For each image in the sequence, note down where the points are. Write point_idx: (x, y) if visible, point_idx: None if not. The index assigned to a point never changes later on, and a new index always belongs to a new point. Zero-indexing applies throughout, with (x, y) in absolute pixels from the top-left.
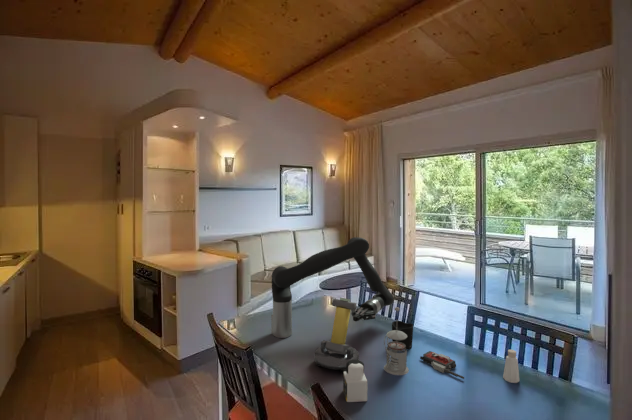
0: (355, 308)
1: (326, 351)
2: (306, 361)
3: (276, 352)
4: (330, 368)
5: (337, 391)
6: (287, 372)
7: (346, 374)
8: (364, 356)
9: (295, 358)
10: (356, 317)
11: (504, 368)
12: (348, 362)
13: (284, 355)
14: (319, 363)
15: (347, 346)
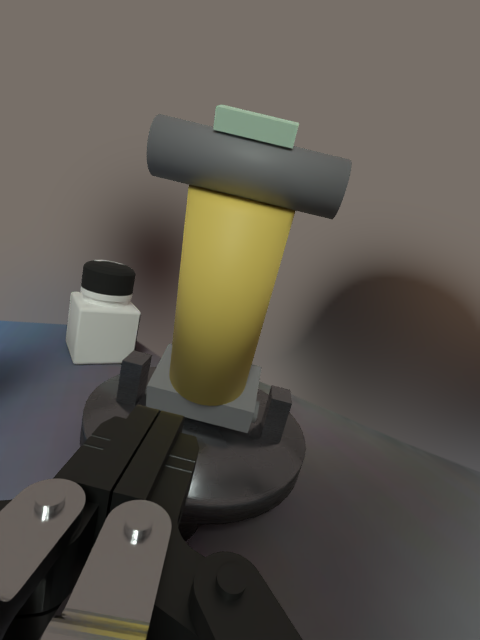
0: (150, 162)
1: (252, 423)
2: (315, 461)
3: (470, 499)
4: None
5: None
6: (315, 408)
7: (130, 304)
8: None
9: (368, 473)
10: (138, 407)
11: None
12: (130, 268)
13: (422, 485)
14: None
15: (154, 375)
